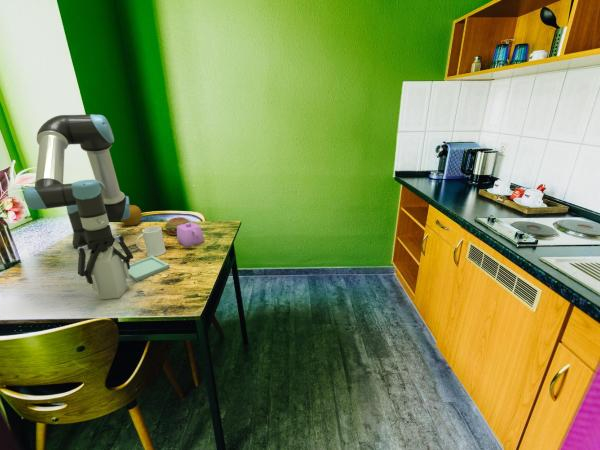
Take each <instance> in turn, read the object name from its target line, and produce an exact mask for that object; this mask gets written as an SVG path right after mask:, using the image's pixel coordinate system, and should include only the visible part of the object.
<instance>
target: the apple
mask: <svg viewBox="0 0 600 450" xmlns="http://www.w3.org/2000/svg"><path fill="white" fill-rule="evenodd" d="M129 207H130V217H129V218H128V219H123V220H120V222H122V224H124V225H126V226H136V225H138V224H139V223H140V221H141V218H142V210H141V208H140V207H139V206H137V205H135V204H134V205H132V204H129Z"/></svg>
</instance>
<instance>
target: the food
mask: <svg viewBox="0 0 600 450" xmlns="http://www.w3.org/2000/svg"><path fill="white" fill-rule="evenodd" d="M191 222H192V220H189V219H187V218H185V217H183V216H182V217H181V216H178V217H173V218H170V219H168V221H167V222H166V223H165V225H164V228H165V230H166V232H167V234H168V235H170V236H177V226H179V225H180V224H186V223H191Z"/></svg>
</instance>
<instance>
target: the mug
mask: <svg viewBox="0 0 600 450" xmlns="http://www.w3.org/2000/svg"><path fill="white" fill-rule="evenodd" d="M141 232H142V233H141V234H140V235H138V237H137V238H136V241H135V244H136V247H137V248H138V249H139V250H141V251H145V252H146V257H150V256H154V257H159V256H161V255H164V254H166V252H167V249H166V246H165V240H164V235H163V231H162V226H158V225H156V226H155V225H154V226H149V227H145V228H143V229H142V230H141ZM141 237H142V238H143V241H144V247H143V248H142V247H140V246H139V243H138V241H139V239H140V238H141Z"/></svg>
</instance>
